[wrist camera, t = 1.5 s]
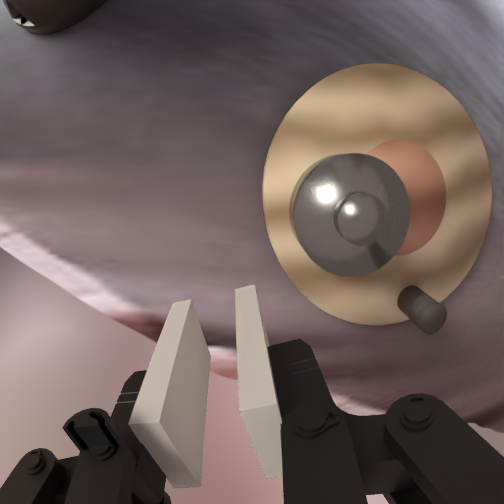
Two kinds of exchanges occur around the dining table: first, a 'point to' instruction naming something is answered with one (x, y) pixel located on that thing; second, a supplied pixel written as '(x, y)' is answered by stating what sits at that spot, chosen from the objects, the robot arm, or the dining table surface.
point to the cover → (350, 213)
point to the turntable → (412, 175)
